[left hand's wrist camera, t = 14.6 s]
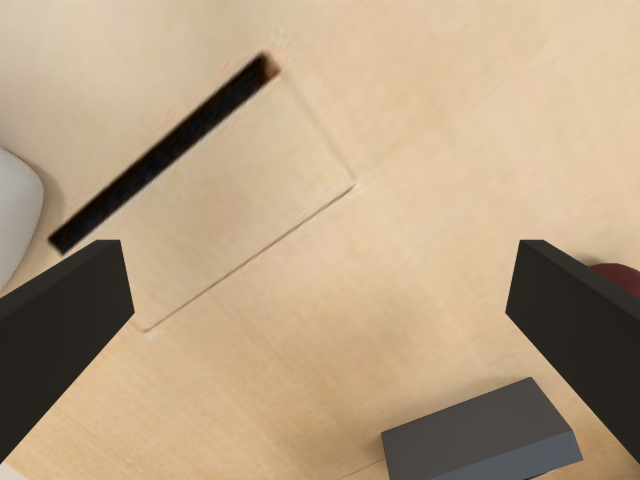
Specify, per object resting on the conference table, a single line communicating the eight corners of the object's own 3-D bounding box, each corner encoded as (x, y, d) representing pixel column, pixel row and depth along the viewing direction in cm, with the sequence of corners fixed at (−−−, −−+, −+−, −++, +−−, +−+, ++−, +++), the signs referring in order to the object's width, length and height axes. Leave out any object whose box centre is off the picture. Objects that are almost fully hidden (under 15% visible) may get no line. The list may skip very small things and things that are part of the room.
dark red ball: (572, 321, 45) (616, 359, 38) (549, 273, 43) (591, 304, 36) (632, 291, 43) (689, 325, 37) (611, 240, 41) (667, 267, 34)
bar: (531, 376, 48) (572, 430, 40) (541, 403, 49) (583, 460, 42) (381, 432, 51) (392, 492, 43) (395, 456, 53) (408, 517, 45)
